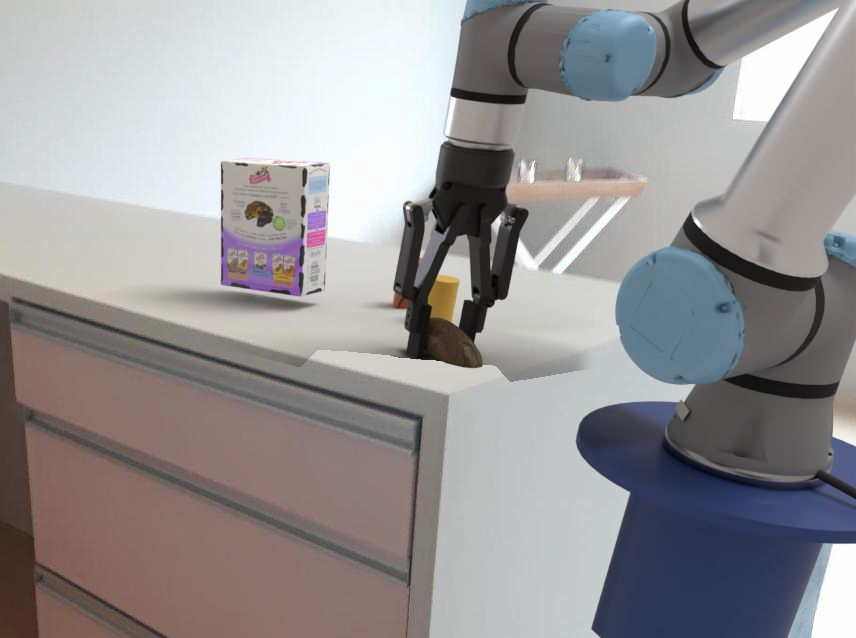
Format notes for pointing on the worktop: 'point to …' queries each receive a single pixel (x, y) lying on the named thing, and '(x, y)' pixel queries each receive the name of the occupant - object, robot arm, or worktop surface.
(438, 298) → the yellow cylinder
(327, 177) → the snack box
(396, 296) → the red cylinder
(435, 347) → the ibis bird sculpture
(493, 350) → the worktop surface
